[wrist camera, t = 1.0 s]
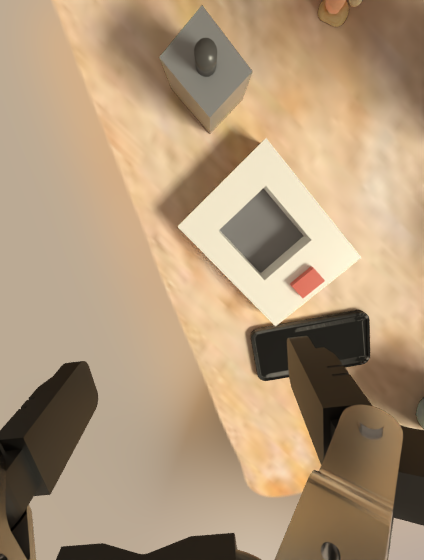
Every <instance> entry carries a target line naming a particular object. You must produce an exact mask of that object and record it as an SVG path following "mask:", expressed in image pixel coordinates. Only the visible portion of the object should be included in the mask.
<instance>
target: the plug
mask: <svg viewBox="0 0 424 560" xmlns="http://www.w3.org/2000/svg"><path fill="white" fill-rule="evenodd" d="M159 58H160V61H161V63H162V66H163V68H164V71H165V73H166V76H167V79H168V81H169V84H170V86H171V89H172V90H173V91H174V92H175V94H176V95H177V96H178V97H179V98H180V99H181V101H182V102H183V103H184V104H185V105H186V106H187V108H188V109H189V110H190V111H191V112H192V113H193V115H194V116H195V117H196V118H197V119H198V120H199V122H200V123H201V124H202V125H203V126H204V128H205V129H206V130H207V131H208V132H209V133H210V134H211V132H212V131H213V130H214V129H215V128H216V127H217V126H218V125H219V124H220V123H221V122H222V121H223V120H224V119H225V118H226V117H227V115H228V114H229V113H230V112H231V111H232V110H233V109H234V108H235V107H236V106H237V105H238V104H239V103H240V102H241V101H242V99H243V97H244V94H245V91H246V88H247V85H248V83H249V80H250V77H251V74H252V70H251V69H250V67H249V66H248V65H247V63H246V62H245V61H244V60H243V58H242V57H241V56H240V54H239V53H238V52H237V50H236V49H235V48H234V46H233V45H232V44H231V42H230V41H229V40H228V38H227V37H226V36H225V35H224V33H223V32H222V31H221V29H220V28H219V27H218V25H217V24H216V23H215V21H214V20H213V19H212V17H211V16H210V15H209V13H208V12H207V11H206V10H205V8H204V7H203V6H201V7H200V8H199V9H198V11H197V12H196V13H195V14H194V16H193V17H192V18H191V19H190V20H189V22H188V23H187V24H186V25H185V26H184V28H183V29H182V30H181V31H180V33H179V34H178V35H177V36H176V37H175V39H174V40H173V41H172V42H171V43H170V45H169V46H168V47H167V48H166V50H165V51H164V52H163V53H162V54H161V56H160V57H159Z"/></svg>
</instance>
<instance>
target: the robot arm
mask: <svg viewBox="0 0 424 560" xmlns="http://www.w3.org/2000/svg"><path fill="white" fill-rule="evenodd" d="M287 353H288V370H289V378H290V383H291V387H292V390H293V392H294V395H295V398H296V400H297V403H298V405H299V408H300V411H301V413H302V416H303V418H304V421H305V424H306V426H307V429H308V431H309V434H310V437H311V439H312V442H313V445H314V447H315V450H316V452H317V455H318V458H319V460H320V463H321V465H322V466H321V468H320V470H319V471H316V470H314V471H312V473H311V474H310V476H309V478H308V480H307V483H306V485H305V487H304V490H303V492H302V495H301V497H300V499H299V502H298V504H297V507H296V509H295V512H294V514H293V516H292V519H291V521H290V524H289V526H288V528H287V531H286V533H285V536H284V538H283V541H282V543H281V545H280V548H279V550H278V553H277V555H276V558H275V560H388V557H389V550H390V543H391V535H392V528H393V520H394V518H397V519H402V520H405V521H409V522H412V523H416V524H420V525H424V430H418V429H412V428H408V427H404V426H401V425H399V423H398V422H397V421H396V420H395V419H394V418H393V417H392V416H391V415H390V414H388V413H387V412H385V411H383V410H381V409H379V408H376V407H373V406H372V405H371V403H370V402H369V401H368V399H367V398H366V396H365V395H364V394H363V392H362V391H361V390H360V388H359V387H358V385H357V384H356V383H355V381H354V380H353V378H352V377H351V376H350V375H349V374H348V371H347V370H346V369H345V367H344V366H343V364H342V363H341V362H340V360H339V359H338V357H337V356H336V355H335V354H334V353H332V352H330V351H329V350H327V349H326V348H324V347H323V348H315V347H314V345H313V344H312V342H311V340H310V339H309V337H308V336H301V337H293V338H288V339H287ZM97 403H98V393H97V389H96V386H95V384H94V381H93V377H92V374H91V372H90V369H89V366H88V364H87V363H86V362H85V361H80V362H72V363H65V364H63V365H62V366H61V367H60V369H59V370H58V371H57V372H56V373H55V375H54V376H53V377H52V378H50V379H49V380H48V381H46V382H45V383H43V384H42V385H41V386H39V387H38V388H37V389H36V390H35V391H34V393H33V394H32V395H31V396H30V397H29V400H27V401H26V402H25V403H24V404H23V405H22V407H21V409H19V410H18V411H17V412H16V413H15V414H14V416H13V417H12V418H11V419H10V420H9V421H8V422H7V423H6V425H5V426H4V427H3V428H2V429H1V430H0V560H36V552H35V542H34V530H33V519H32V511H31V508H30V506H29V503H30V501H31V500H32V498H33V496H39V495H50V494H51V492H52V490H53V488H54V486H55V485H56V483H57V481H58V479H59V477H60V475H61V473H62V472H63V470H64V468H65V466H66V464H67V462H68V460H69V458H70V456H71V455H72V453H73V451H74V449H75V447H76V445H77V443H78V441H79V440H80V438H81V436H82V434H83V432H84V430H85V428H86V426H87V424H88V423H89V421H90V419H91V417H92V415H93V413H94V411H95V410H96V407H97ZM56 560H261V559H259V558H258V557H256V556H254V555H251V554H249V553H247V552H244V551H240V550H237V545H236V539H235V534H234V533H228V534H215V535H204V536H203V535H202V536H191V537H188V538H186V539H183V540H181V541H178V542H176V543H173V544H171V545H168V546H166V547H163V548H161V549H158V550H155V551H153V552H151V553H148V554H137V553H134V552H130V551H127V550H124V549H120V548H117V547H114V546H110V545H107V544H103V543H102V544H89V545H76V546H64V547H61V549H60V552H59V554H58V556H57V559H56Z"/></svg>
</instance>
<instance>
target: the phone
mask: <svg viewBox="0 0 424 560" xmlns="http://www.w3.org/2000/svg"><path fill="white" fill-rule="evenodd" d="M301 336H308V337H309V339H310V340H311V342H312V344H313V345H314V347H315V348H323V347H324V348H326V349H327V350H329V351H330V352H332V353H334V354H335V355H336V356H337V357H338V359H339V360H340V362H341V363H342V364H343V366H344V367H350V366H356V365H362V364H365V363H366V362H367V361H368V360H369V358H370V325H369V316H368V315H367V314H366V313H365V312H363V311H361V310H355V311H350V312H344V313H339V314H334V315H327V316H323V317H317V318H312V319H306V320H301V321H295V322H290V323H284V324H279V325H277V326H275V325H273V326H268V327H262V328H258V329H255V330H254V331H253V332H252V333H251V342H252V348H253V353H254V359H255V364H256V370H257V374H258V377H259V378H260V379H261V380H263V381H269V380H275V379H281V378H286V377H289V370H288V353H287V339H288V338H293V337H301Z"/></svg>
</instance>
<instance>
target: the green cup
mask: <svg viewBox="0 0 424 560" xmlns="http://www.w3.org/2000/svg"><path fill="white" fill-rule="evenodd" d="M416 412H417V413H416V416H417V420H418V422H419V424H420V425H421V426H422V428H423V429H424V398H423V399H422V400H421V401H420V403H419V404H418V407H417V410H416Z"/></svg>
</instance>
